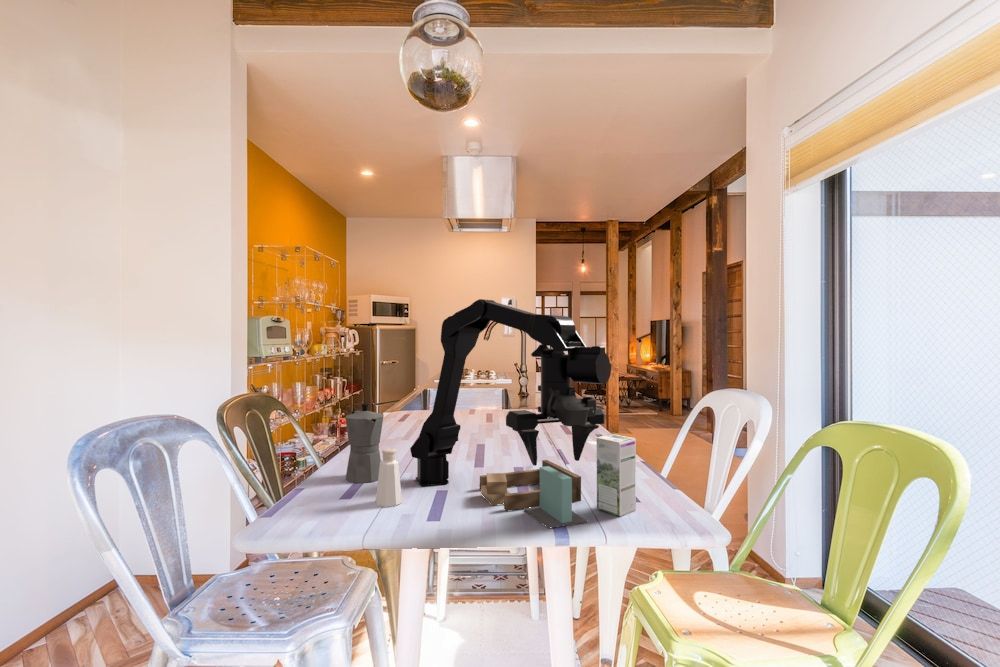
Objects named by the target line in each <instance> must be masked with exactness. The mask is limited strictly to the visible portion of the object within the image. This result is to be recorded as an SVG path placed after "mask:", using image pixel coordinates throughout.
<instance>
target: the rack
mask: <svg viewBox="0 0 1000 667" xmlns="http://www.w3.org/2000/svg"><path fill="white" fill-rule="evenodd" d="M541 461H542V462H541V467H545V466H549V467H551V468H553V469H555V470H557V471H559V472H561V473H563V474H565V475H567V476H569V477H571V478H572V503H573V501H574V502H581V501H582V476H580V475H579V474H576V473H575V472H572V471H571V470H568V469H567V468H564V467H562V466H560V465H558V464H556V463H554V462H552V461H550V460H548V459H542V460H541ZM504 473H505V476H506V480H507V488H511V487H510V486H515V487H520V486H519V485H523V486H530V485H529V484H531V485H536V484H537V485H540V468H537V469H536V468H535V469H529V470H519V471H511V472H504ZM486 480H487V474H485V475H484V474H483V475H479V490H480V489H481V486H482V485H486ZM538 506H540V489H536V490H535V489H534V490H527V491H518V492H510V494H504V504H503V507H504V509H505V510H504V511H506V512H509V511H508V510H512V511H516V510H515V509H519V510H523V509H522V508H529V507H538Z"/></svg>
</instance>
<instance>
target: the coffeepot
mask: <svg viewBox="0 0 1000 667" xmlns="http://www.w3.org/2000/svg"><path fill="white" fill-rule="evenodd" d="M368 407H369V403H366V402H365V403H362V404H361V410H358V409H353V410H352V411H351V414H346V416H345V425H346V432H347V440H348V445H350V451H349V456H348V462H347V468H346V474H345V481H346V482H349V483H350V484H351V483H353V484H368V483H375V482H378V476H379V467H380V462H381V461H382V459H381V453H380V443H381V434H382V430H383V429H382V428H383V421H384V414H383V413H378V412H375V411H370V410H368Z"/></svg>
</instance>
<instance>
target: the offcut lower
mask: <svg viewBox="0 0 1000 667" xmlns="http://www.w3.org/2000/svg"><path fill="white" fill-rule="evenodd" d="M510 493H511V492H510V491H509V490H507V494H510ZM481 494H482V495H483V496H484V497H485V498H486V499H487V500H488V501H489V502H490V503H491V504H492V505H495V506H498V505H497V504H503V503H504V494H487V485H482V486H481V490H480V495H481ZM485 498H484V499H485ZM486 499H485V500H486ZM487 500H486V501H487ZM488 501H487V502H488ZM489 502H488V503H489ZM490 503H489V504H490ZM491 504H490V505H491ZM492 505H491V506H492ZM503 505H504V504H503Z"/></svg>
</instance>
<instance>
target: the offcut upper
mask: <svg viewBox="0 0 1000 667" xmlns="http://www.w3.org/2000/svg"><path fill="white" fill-rule="evenodd" d="M505 473H506V472H502V473H501V472H498V473H497V472H496V473H495V472H493V473H492V472H491V473H490V472H488V473H486V475H487V480H486V485H487V494H507V491H508V487H507V480H506V476H505Z"/></svg>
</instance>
